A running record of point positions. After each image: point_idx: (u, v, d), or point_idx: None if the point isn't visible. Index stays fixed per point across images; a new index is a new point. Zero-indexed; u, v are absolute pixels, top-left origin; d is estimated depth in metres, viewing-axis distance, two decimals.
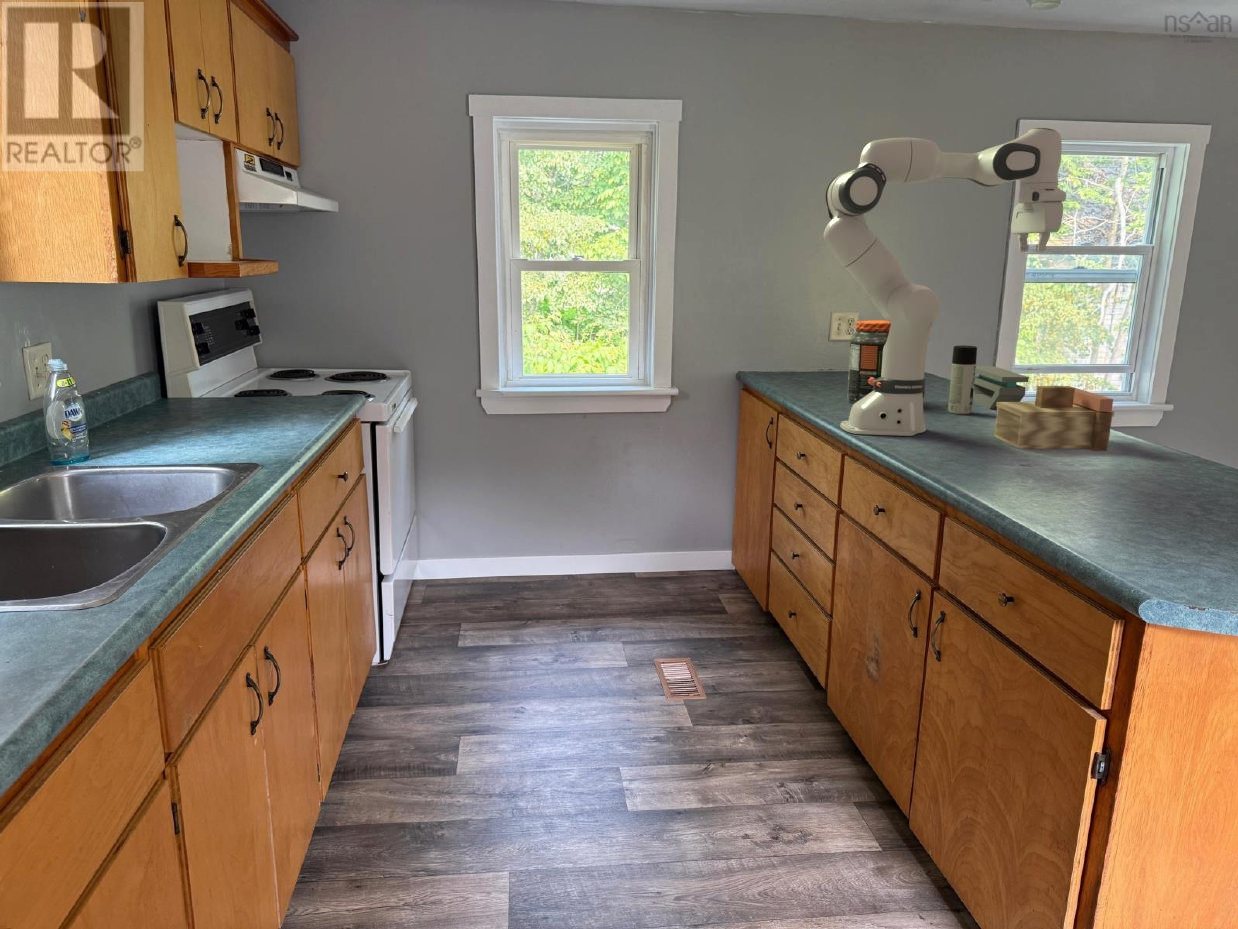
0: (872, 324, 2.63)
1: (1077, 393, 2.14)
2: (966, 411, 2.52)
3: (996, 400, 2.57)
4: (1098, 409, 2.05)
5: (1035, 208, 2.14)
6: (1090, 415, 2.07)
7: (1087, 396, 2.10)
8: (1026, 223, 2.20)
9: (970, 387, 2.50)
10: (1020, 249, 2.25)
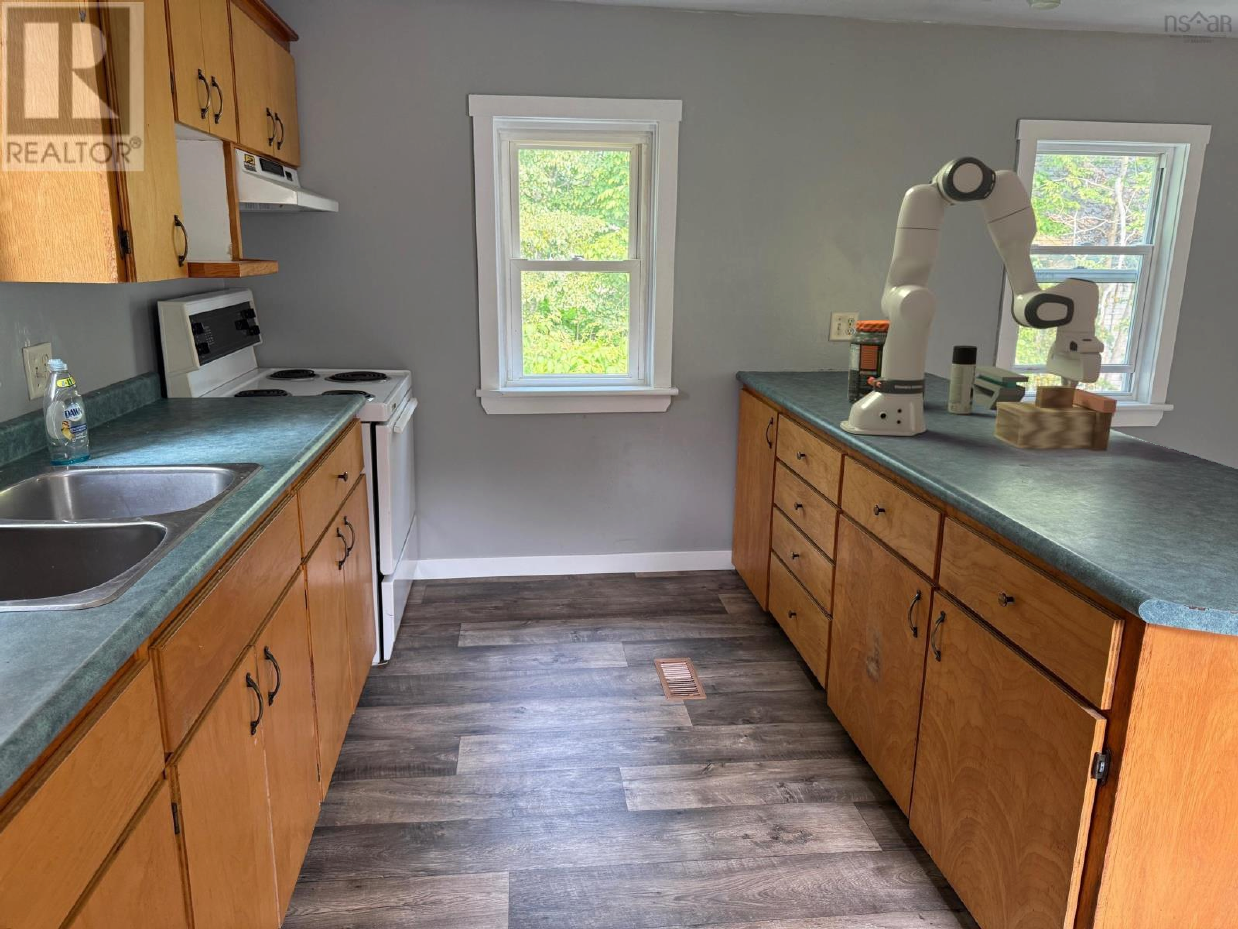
0: (872, 324, 2.63)
1: (1080, 394, 2.13)
2: (966, 411, 2.52)
3: (996, 400, 2.57)
4: (1102, 410, 2.03)
5: (1072, 356, 2.16)
6: (1090, 415, 2.07)
7: (1090, 397, 2.08)
8: (1062, 367, 2.21)
9: (970, 387, 2.50)
10: None
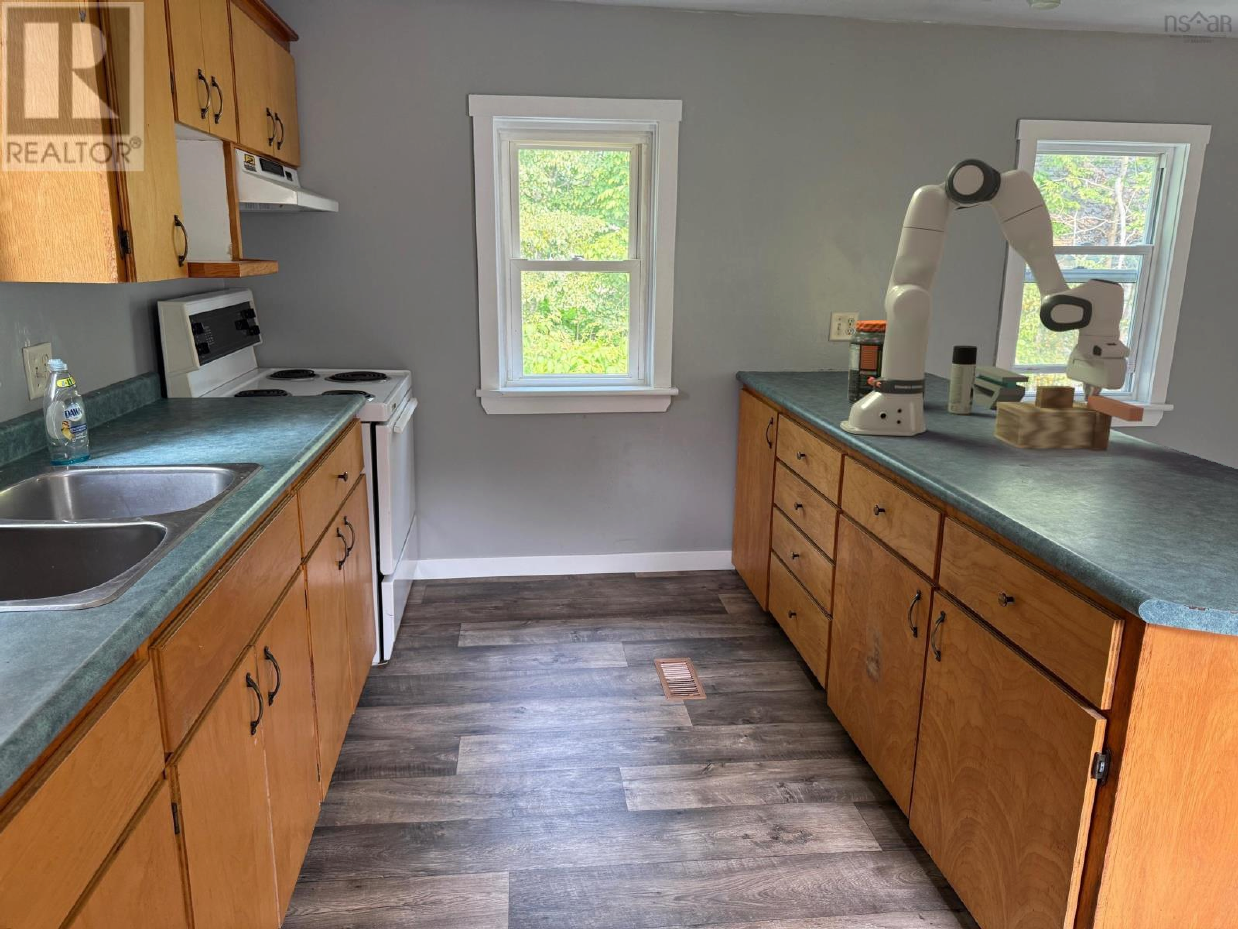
0: (872, 324, 2.63)
1: (1104, 401, 2.02)
2: (966, 411, 2.52)
3: (996, 400, 2.57)
4: (1128, 419, 1.93)
5: (1095, 361, 2.05)
6: (1090, 415, 2.07)
7: (1115, 405, 1.98)
8: (1085, 373, 2.10)
9: (970, 387, 2.50)
10: (1085, 399, 2.12)
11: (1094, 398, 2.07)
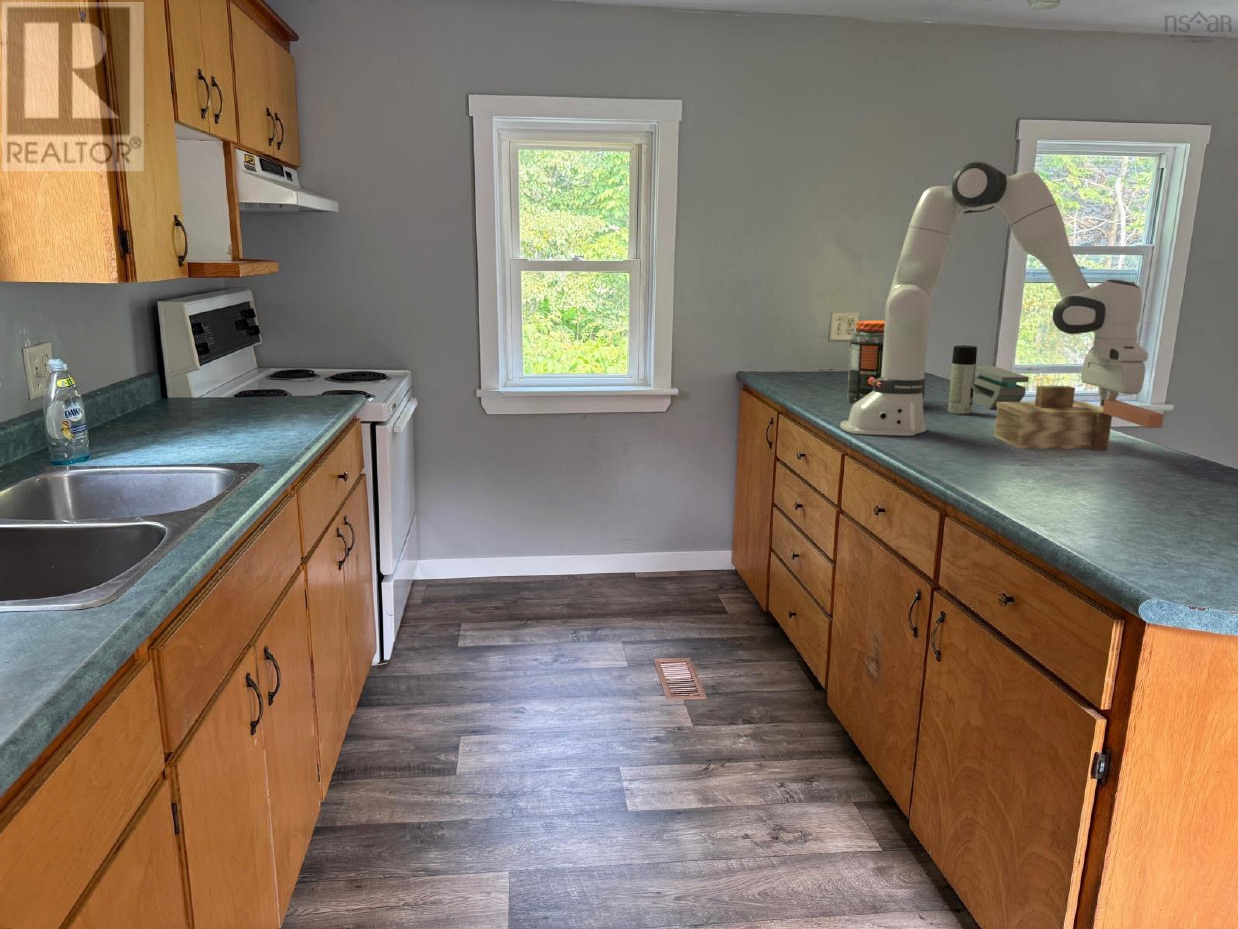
0: (872, 324, 2.63)
1: (1121, 407, 1.95)
2: (966, 411, 2.52)
3: (996, 400, 2.57)
4: (1147, 425, 1.86)
5: (1112, 365, 1.98)
6: (1090, 415, 2.07)
7: (1133, 410, 1.91)
8: (1101, 377, 2.03)
9: (970, 387, 2.50)
10: (1101, 404, 2.05)
11: (1111, 403, 2.00)
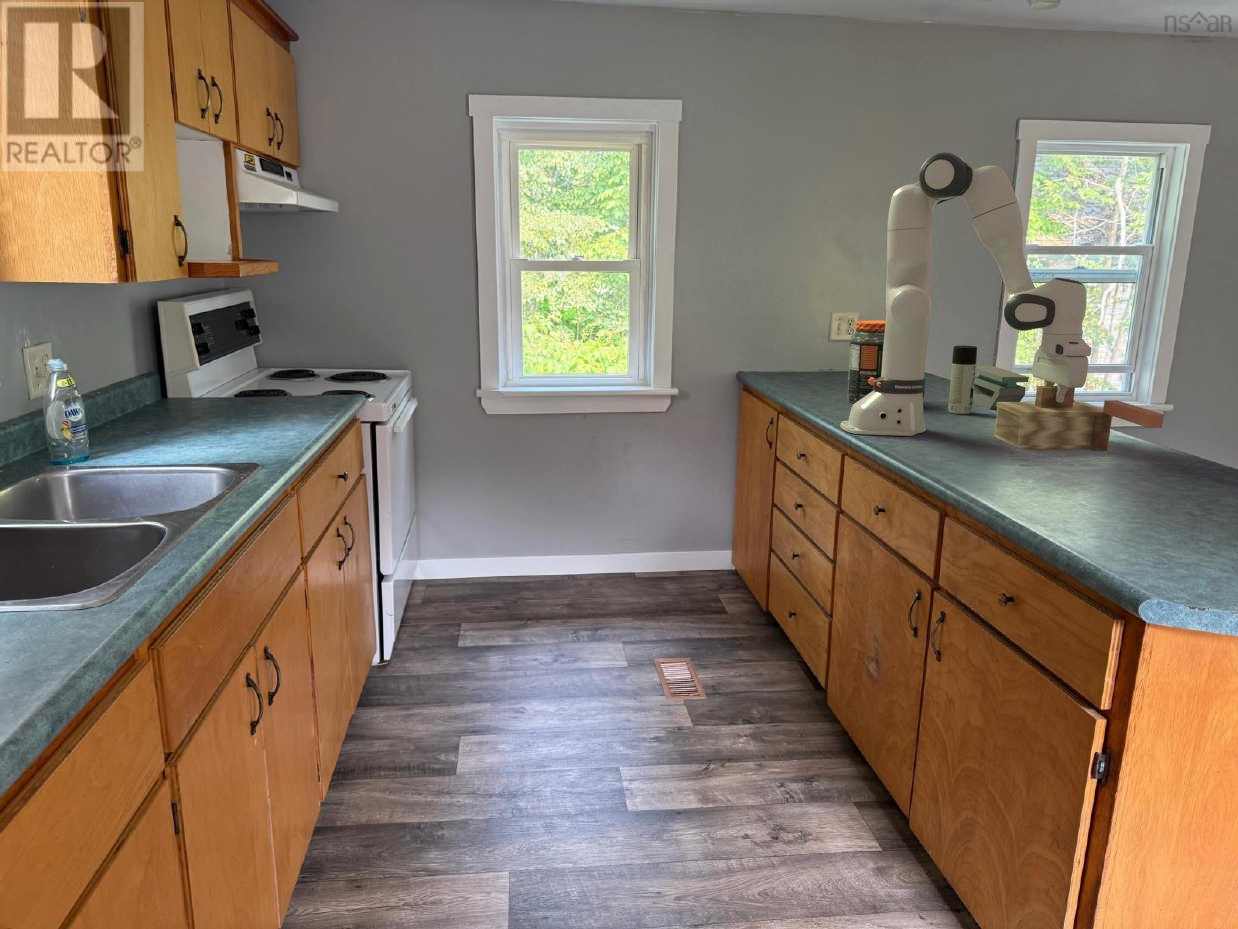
0: (872, 324, 2.63)
1: (1121, 407, 1.95)
2: (966, 411, 2.52)
3: (996, 400, 2.57)
4: (1147, 425, 1.86)
5: (1058, 360, 2.07)
6: (1090, 415, 2.07)
7: (1134, 410, 1.91)
8: (1049, 371, 2.12)
9: (970, 387, 2.50)
10: None
11: (1111, 403, 1.99)
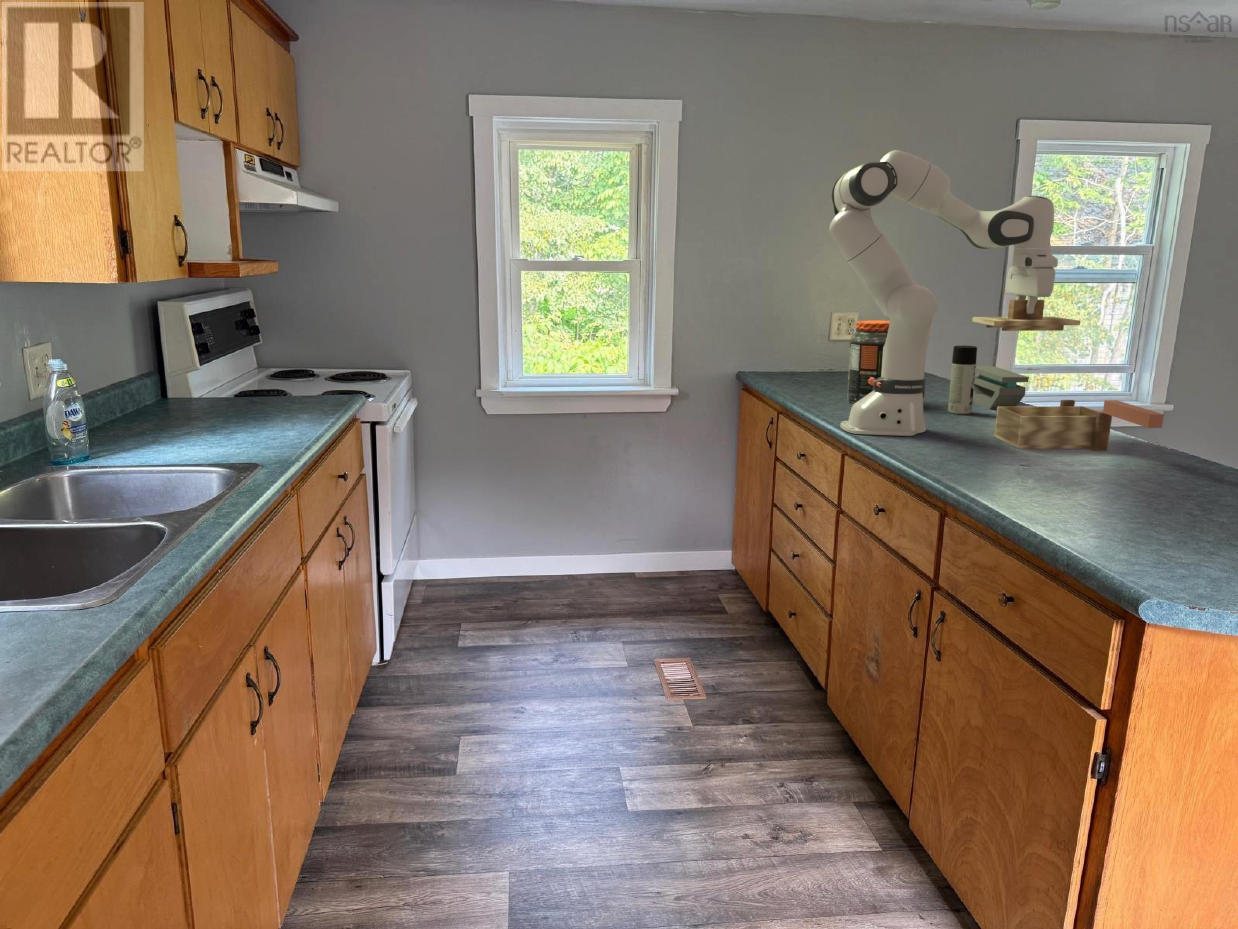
0: (872, 324, 2.63)
1: (1121, 407, 1.95)
2: (966, 411, 2.52)
3: (996, 400, 2.57)
4: (1147, 425, 1.86)
5: (1028, 272, 2.22)
6: (1058, 324, 2.22)
7: (1134, 410, 1.91)
8: (1020, 285, 2.27)
9: (970, 387, 2.50)
10: None
11: (1111, 403, 1.99)
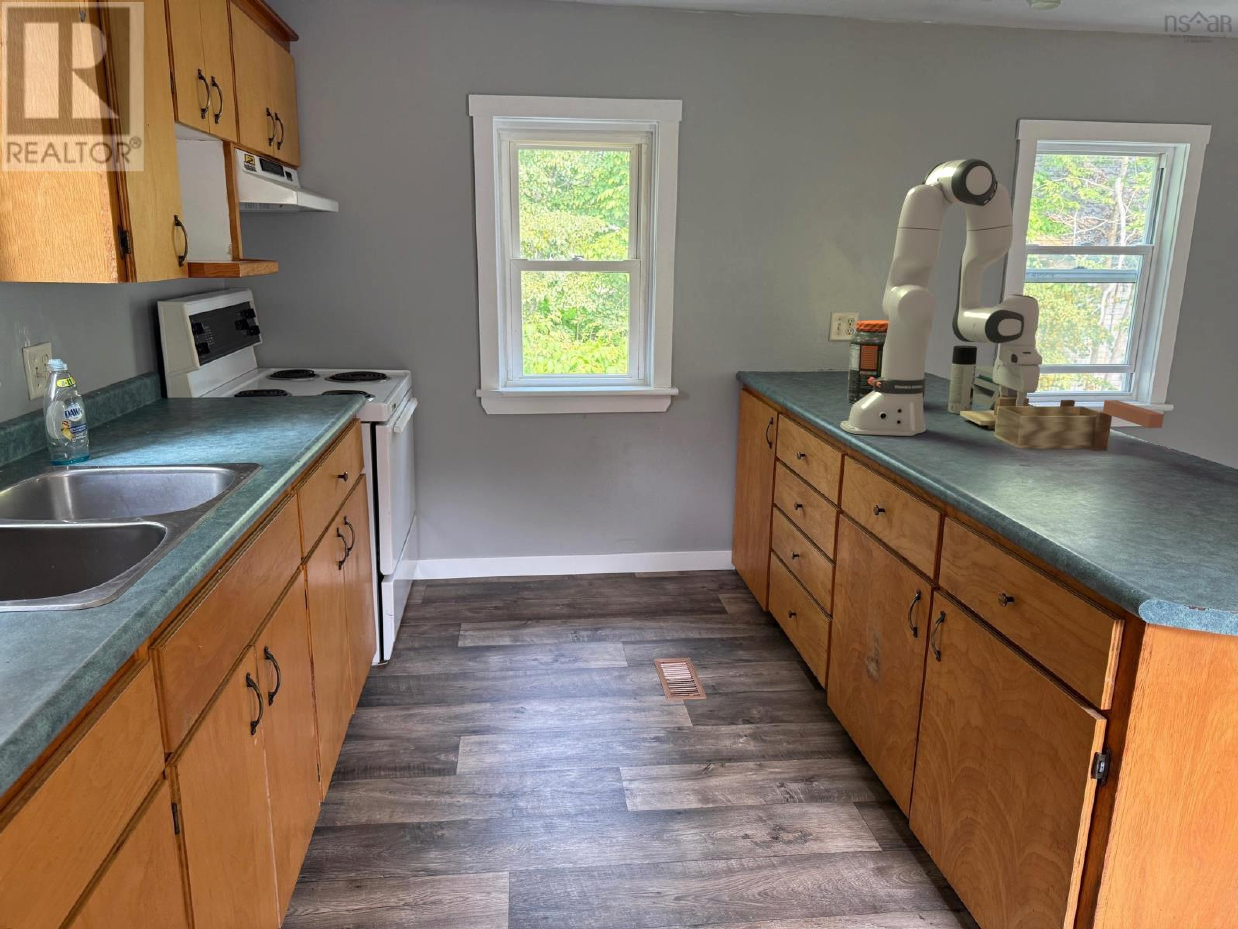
0: (872, 324, 2.63)
1: (1121, 407, 1.95)
2: None
3: None
4: (1147, 425, 1.86)
5: (1014, 368, 2.30)
6: None
7: (1134, 410, 1.91)
8: (1006, 378, 2.35)
9: (970, 387, 2.50)
10: None
11: (1111, 403, 1.99)
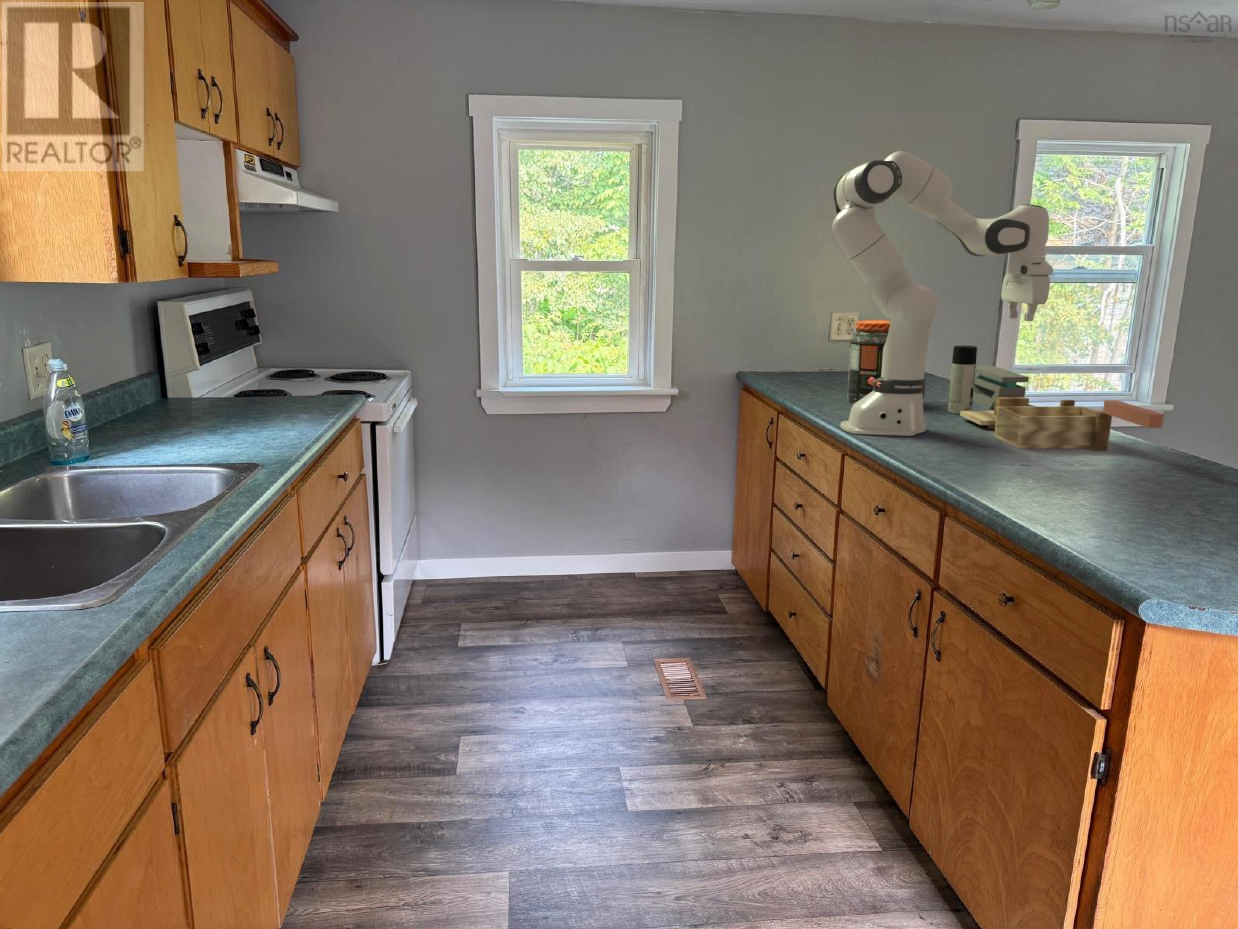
0: (872, 324, 2.63)
1: (1121, 407, 1.95)
2: None
3: None
4: (1147, 425, 1.86)
5: (1023, 280, 2.25)
6: None
7: (1134, 410, 1.91)
8: (1015, 292, 2.30)
9: (970, 387, 2.50)
10: (1010, 316, 2.35)
11: (1111, 403, 1.99)
